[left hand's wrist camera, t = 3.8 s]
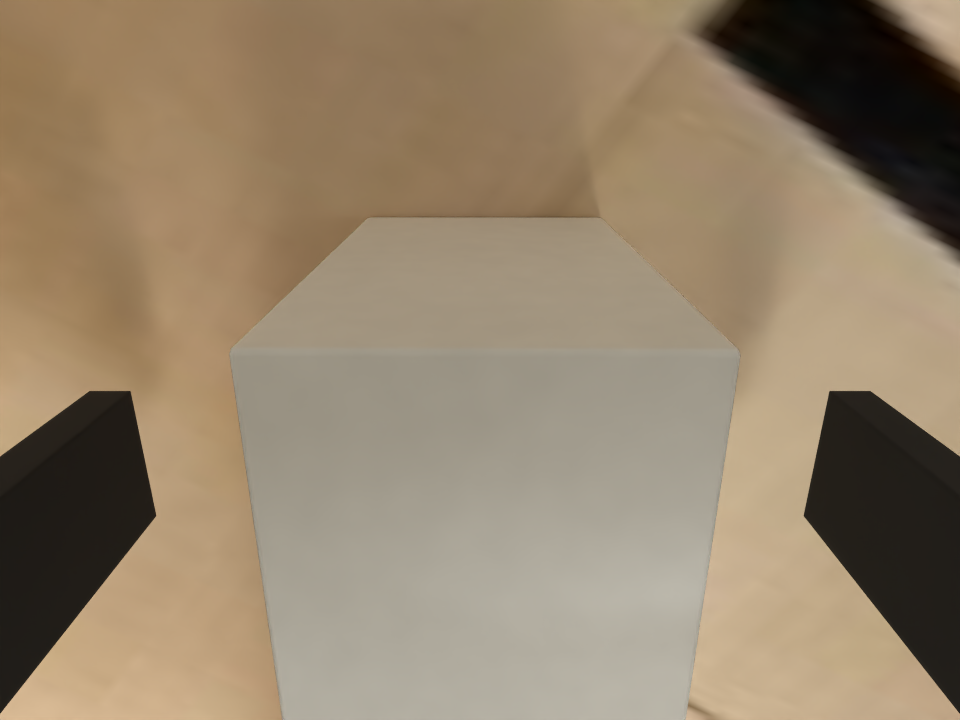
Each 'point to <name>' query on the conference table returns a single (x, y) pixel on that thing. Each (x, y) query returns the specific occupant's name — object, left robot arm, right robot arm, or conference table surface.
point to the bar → (484, 474)
